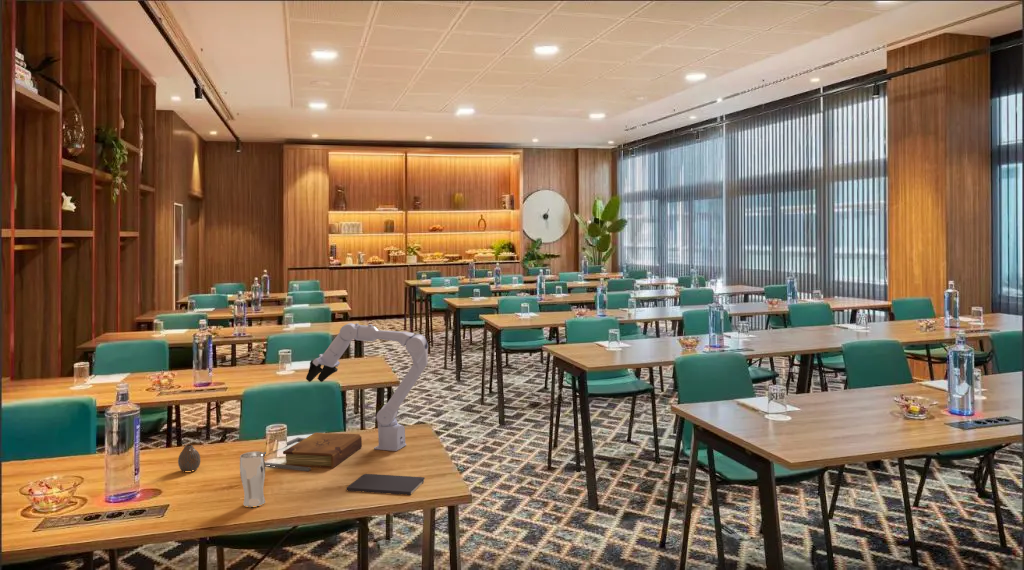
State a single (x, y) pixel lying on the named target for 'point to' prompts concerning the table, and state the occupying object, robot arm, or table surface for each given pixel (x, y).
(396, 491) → the notebook
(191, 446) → the grey teardrop shape
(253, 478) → the beer glass
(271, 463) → the flat grey piece
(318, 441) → the diary
